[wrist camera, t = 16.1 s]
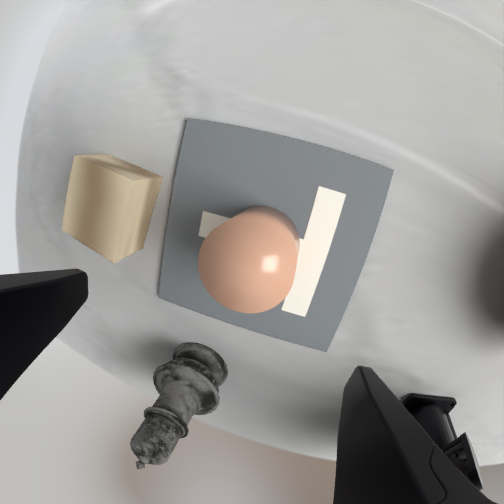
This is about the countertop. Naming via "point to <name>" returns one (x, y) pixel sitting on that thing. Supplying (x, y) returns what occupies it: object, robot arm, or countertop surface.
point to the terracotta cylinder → (250, 260)
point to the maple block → (109, 204)
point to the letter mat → (285, 200)
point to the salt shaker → (178, 401)
